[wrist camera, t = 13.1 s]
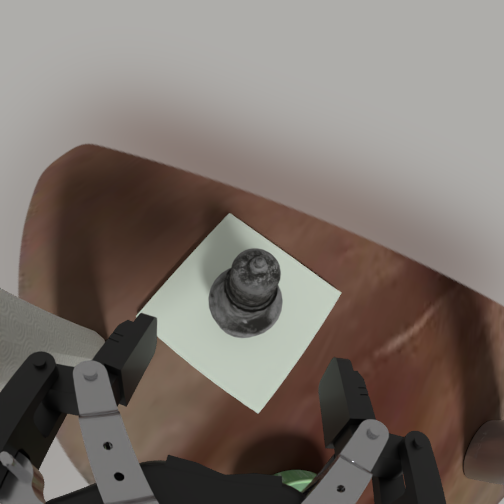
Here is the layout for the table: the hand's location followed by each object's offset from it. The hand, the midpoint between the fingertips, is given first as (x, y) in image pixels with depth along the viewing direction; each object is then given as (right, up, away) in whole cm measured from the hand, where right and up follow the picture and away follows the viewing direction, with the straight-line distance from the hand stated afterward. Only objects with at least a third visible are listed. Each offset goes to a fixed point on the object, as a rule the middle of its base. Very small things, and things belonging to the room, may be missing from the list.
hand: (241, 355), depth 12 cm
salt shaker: (0, -1, +14) cm, 14 cm away
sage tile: (-1, -1, +14) cm, 14 cm away
